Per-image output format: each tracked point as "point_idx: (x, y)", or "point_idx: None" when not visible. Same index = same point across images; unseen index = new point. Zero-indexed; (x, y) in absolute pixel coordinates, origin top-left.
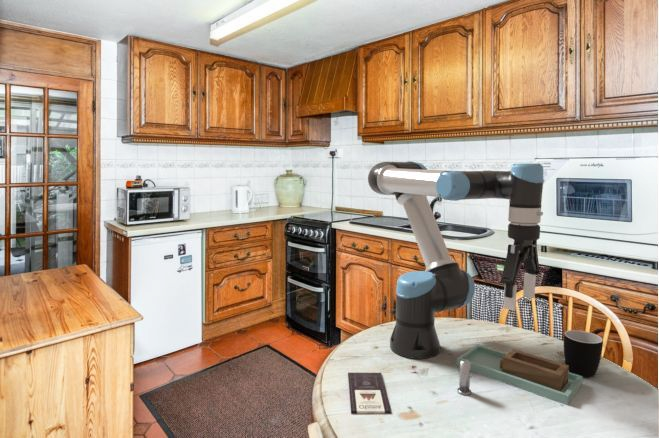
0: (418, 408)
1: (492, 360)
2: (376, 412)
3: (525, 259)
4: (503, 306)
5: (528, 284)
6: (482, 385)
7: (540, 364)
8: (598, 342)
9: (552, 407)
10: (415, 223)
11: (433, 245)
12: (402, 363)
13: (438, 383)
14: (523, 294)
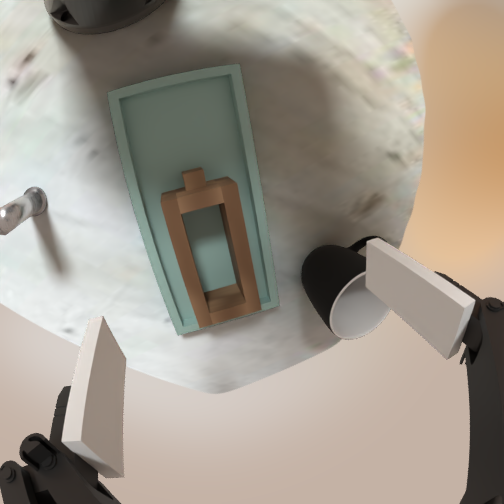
0: None
1: (203, 133)
2: None
3: (489, 457)
4: (87, 325)
5: (411, 297)
6: (85, 199)
7: (234, 257)
8: (350, 339)
9: (145, 317)
10: None
11: None
12: (24, 36)
13: (15, 146)
14: (372, 246)
